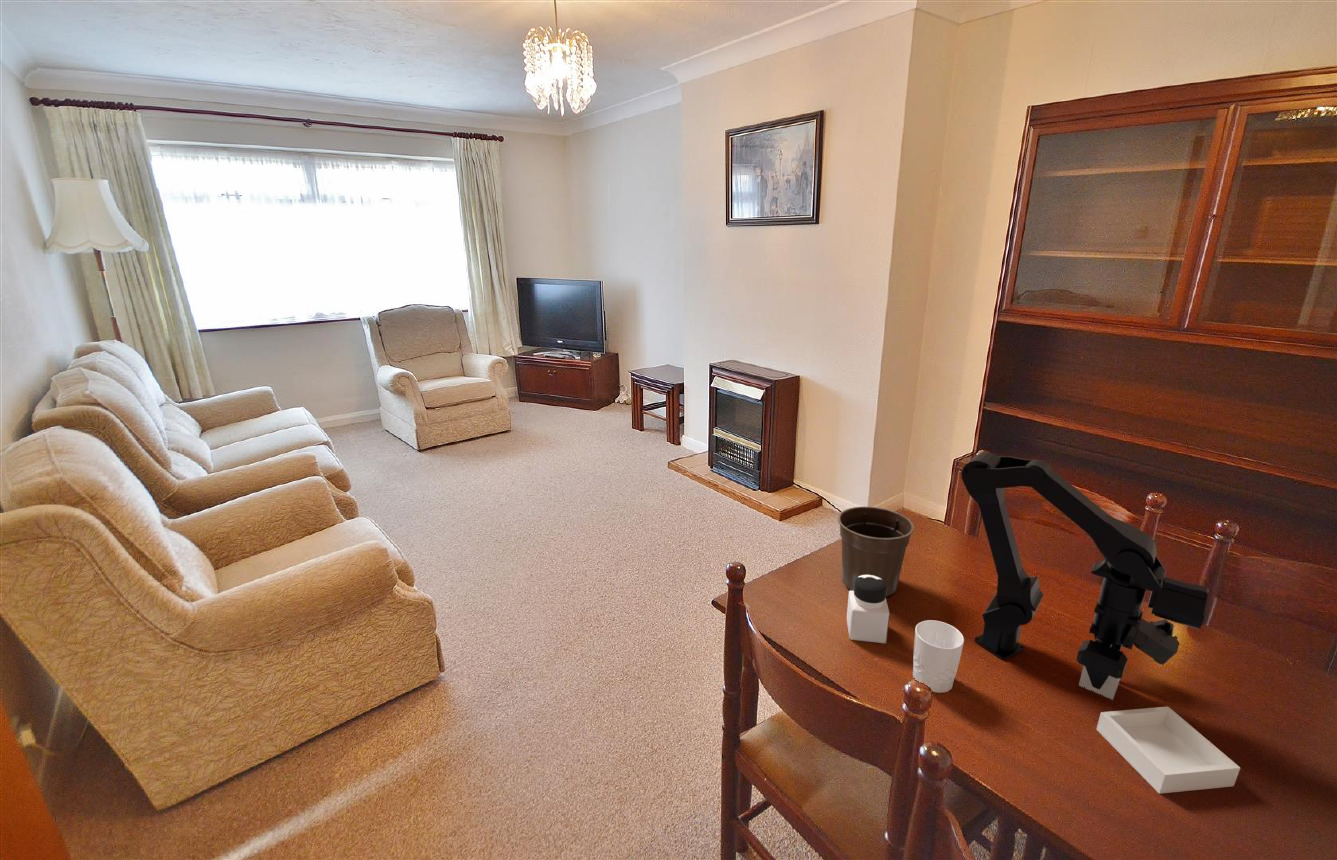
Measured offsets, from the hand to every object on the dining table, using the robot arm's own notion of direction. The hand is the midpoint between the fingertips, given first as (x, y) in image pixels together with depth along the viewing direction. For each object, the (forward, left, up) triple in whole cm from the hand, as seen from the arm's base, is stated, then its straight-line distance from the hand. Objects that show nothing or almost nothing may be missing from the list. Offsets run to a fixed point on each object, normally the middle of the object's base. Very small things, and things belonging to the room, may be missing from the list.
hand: (1100, 678), depth 104 cm
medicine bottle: (-26, +30, -2) cm, 40 cm away
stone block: (0, 0, -2) cm, 2 cm away
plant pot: (-13, +43, -2) cm, 45 cm away
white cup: (-25, +14, -2) cm, 29 cm away
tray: (-7, -13, -2) cm, 15 cm away
